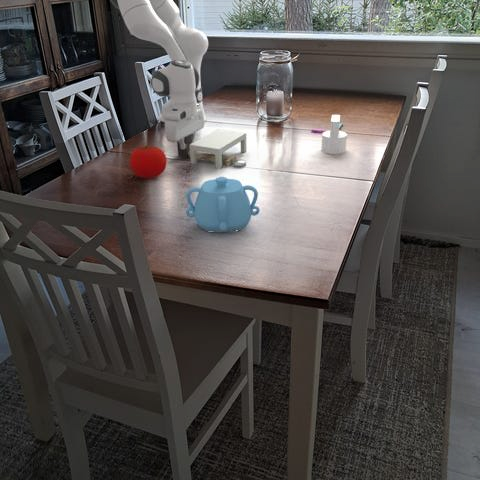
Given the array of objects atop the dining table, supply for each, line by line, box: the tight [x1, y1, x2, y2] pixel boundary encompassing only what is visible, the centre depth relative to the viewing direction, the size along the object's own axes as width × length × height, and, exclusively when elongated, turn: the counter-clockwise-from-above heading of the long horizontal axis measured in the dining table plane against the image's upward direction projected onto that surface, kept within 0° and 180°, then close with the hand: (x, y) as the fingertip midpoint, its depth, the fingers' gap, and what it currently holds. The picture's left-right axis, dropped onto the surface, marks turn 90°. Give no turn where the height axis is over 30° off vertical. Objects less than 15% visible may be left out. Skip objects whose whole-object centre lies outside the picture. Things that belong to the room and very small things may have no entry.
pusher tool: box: [176, 134, 238, 167], centre depth 184 cm, size 22×6×9 cm, turn 62°
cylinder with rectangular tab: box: [321, 114, 348, 155], centre depth 190 cm, size 9×9×12 cm
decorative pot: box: [185, 176, 261, 233], centre depth 138 cm, size 16×16×14 cm
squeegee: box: [311, 122, 344, 134], centre depth 210 cm, size 29×2×10 cm
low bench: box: [189, 128, 247, 169], centre depth 187 cm, size 12×20×7 cm, turn 152°
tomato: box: [129, 144, 168, 179], centre depth 171 cm, size 11×12×10 cm
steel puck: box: [231, 158, 247, 168], centre depth 181 cm, size 5×5×2 cm
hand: (187, 146), depth 188 cm, fingers closed on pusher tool, 3 cm apart
